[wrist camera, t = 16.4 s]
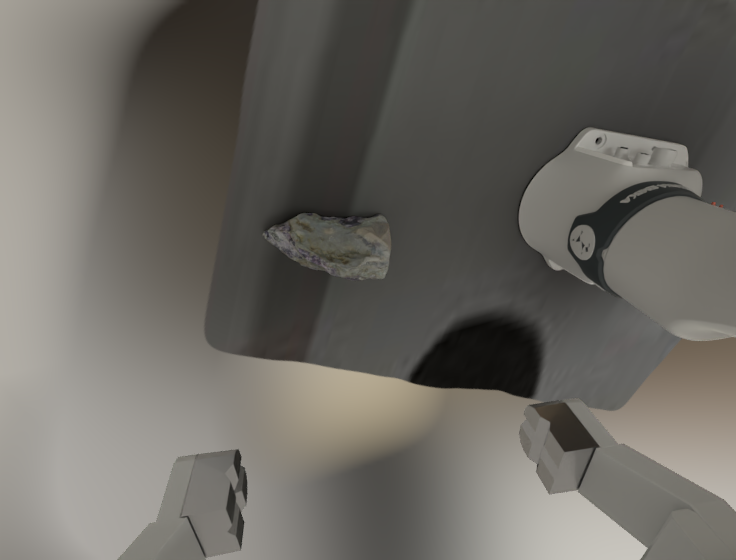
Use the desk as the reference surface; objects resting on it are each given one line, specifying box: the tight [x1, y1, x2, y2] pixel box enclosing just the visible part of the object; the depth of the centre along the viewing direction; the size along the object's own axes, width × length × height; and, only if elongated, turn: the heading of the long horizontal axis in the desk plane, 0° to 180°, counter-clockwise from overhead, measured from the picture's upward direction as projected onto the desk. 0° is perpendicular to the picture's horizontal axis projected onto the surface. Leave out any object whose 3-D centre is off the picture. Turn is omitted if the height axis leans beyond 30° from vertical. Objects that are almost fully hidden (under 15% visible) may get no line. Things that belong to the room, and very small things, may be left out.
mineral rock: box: [262, 213, 391, 281], centre depth 43 cm, size 13×11×10 cm
